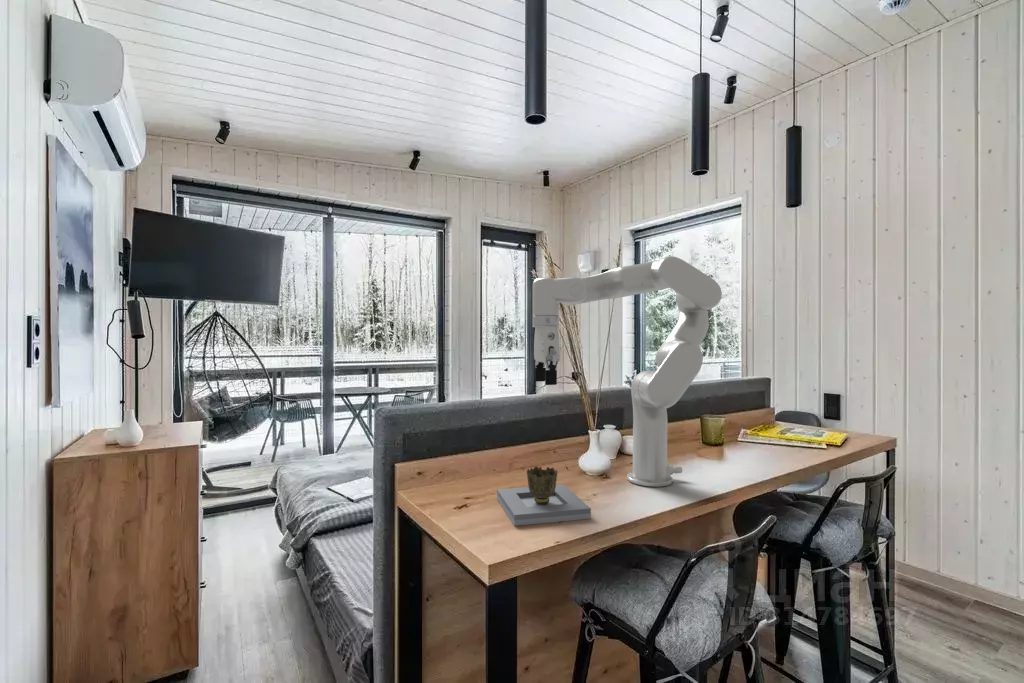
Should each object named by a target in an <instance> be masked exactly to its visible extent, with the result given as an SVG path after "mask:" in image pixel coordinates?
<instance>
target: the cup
mask: <svg viewBox="0 0 1024 683" xmlns="http://www.w3.org/2000/svg"><path fill="white" fill-rule="evenodd" d="M526 477H527V484H528V486H527V487H529V491H530V493H531V494H532V495H533V496H534V497H535V499H534V500H535V502H536V503H537V504H540V505H545V504H548V503H549V500H550V499H549V497H551V496H552V495H553V493H554V491H555V487H556V485H557V479H558V470H557V469H555V468H554V467H551V468H550V467H549V466H547V467H546V469H542V466H539V467H538V466H536V465H535V467H534V468H533V467H532V466H531V467H530V469H529V468H527V470H526Z"/></svg>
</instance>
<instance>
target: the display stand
mask: <svg viewBox="0 0 1024 683" xmlns="http://www.w3.org/2000/svg"><path fill="white" fill-rule="evenodd" d="M496 499H497V501H498V503H499V504H500V506H501V507H502V509H503V510H504V512H505V513H506V515H507V516H508V518H509V520H510V521H511V523H512V525H513V526H514V527H516V526H517V527H518V526H527V525H538V524H549V523H550V524H551V523H559V522H560V523H561V522H570V521H579V520H591V518H592V517H591V516H592V514H591V513H592V512H591V511H592V507H590V506H589V505H588V504H586V502H585V501H583V500H582V499H581V498H580V497H579V496H578V495H577V494H575V493H574V492H573V491H572V490H571V489H569V488H568V487H567V486H566V485H565V484H556V487H555V491H554V493H553V495H552V496H551V497H549V499H550V500H549V503H548V504H545V505H540V504H537V503H536V502H535V500H534V499H535V497H534V496H533V495H532V494H531V493H530V491H529V486H527V487H526V486H524V487H513V488H498V489H496Z"/></svg>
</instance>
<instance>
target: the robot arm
mask: <svg viewBox="0 0 1024 683" xmlns="http://www.w3.org/2000/svg"><path fill="white" fill-rule="evenodd" d="M666 289H671V290H672V291H674V292H675V293H676V294H675V302H676V305H677V308H678V320H677V322H676V324H675V326H674V327H673V329H672V330H671V332H670V333H669V335H667V337H666V339H665V340H664V341H663V343H661V345H660V347H659V348H658V349H657V351H656V353H655V357H654V358H655V363H656V365H657V367H658V369H657V370H656V371H655V370H643V371H641V372H639V373H638V374H636V375H635V377H634V378H633V380H632V382H631V386H630V392H631V393H630V394H631V403H632V471H630V472H627V475H626V479H627V480H628V481H629V482H631V483H633V484H635V485H638V486H639V485H640V486H643V487H644V486H645V487H650V488H651V487H656V488H657V487H659V488H660V487H667V486H670V485H672V483H673V477H672V475H673V474H682V473H683V467H682V466H681V465H679V466H673V464H672V465H671V464H670V465H669V464H668V423H669V422H668V412H667V409H669V408H671V407H672V406H674V405H676V404H677V402H679V401H680V400H681V398H682V396H683V395H684V394H685V393H686V391H687V390H688V389H689V387H690V385H691V383H692V382H693V381H694V380H695V379H696V376H698V373H699V372H700V371H701V369H702V366H703V362H704V356H703V351H702V349H701V348H700V347H699V346H700V345H701V343H702V342H703V340H704V338H705V336H706V335H707V332H708V330H709V314H708V310H711V309H713V308H715V307H716V306H717V305H719V303H720V302H721V299H722V294H723V293H722V288H721V286H720V284H719V283H718V282H717V281H716V280H715V279H714V278H712V277H711V276H709V275H707V273H704V272H703V271H701V270H699V269H698V268H696V267H695V266H694V265H692V264H690V262H687V261H686V260H683V259H682V258H680V257H677V256H673V255H672V256H666V257H662V258H661V259H657V260H653V261H648V262H647V261H646V262H643V263H637V264H632V265H626V266H625V265H624V266H619V267H615V268H613V269H608V270H607V271H605V272H602V273H598V274H595V275H590V276H585V277H579V276H578V277H577V276H572V277H571V276H570V277H563V278H561V277H560V278H554V277H540V278H539V277H538V278H535V279H534V280H533V282H532V328H534V338H533V340H534V341H533V358H534V381H535V382H544V384H545V385H546V386H556V385H557V384H558V363H559V362H560V361H561V349H560V334H559V328H560V303H561V304H562V305H564V306H567V307H568V306H569V307H570V306H575V305H581V304H586V303H591V302H596V301H597V302H598V301H601V300H611V299H612V300H614V299H619V298H624V297H630V296H631V297H632V296H635V295H640V294H646V293H653V292H656V291H662V290H666Z"/></svg>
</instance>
